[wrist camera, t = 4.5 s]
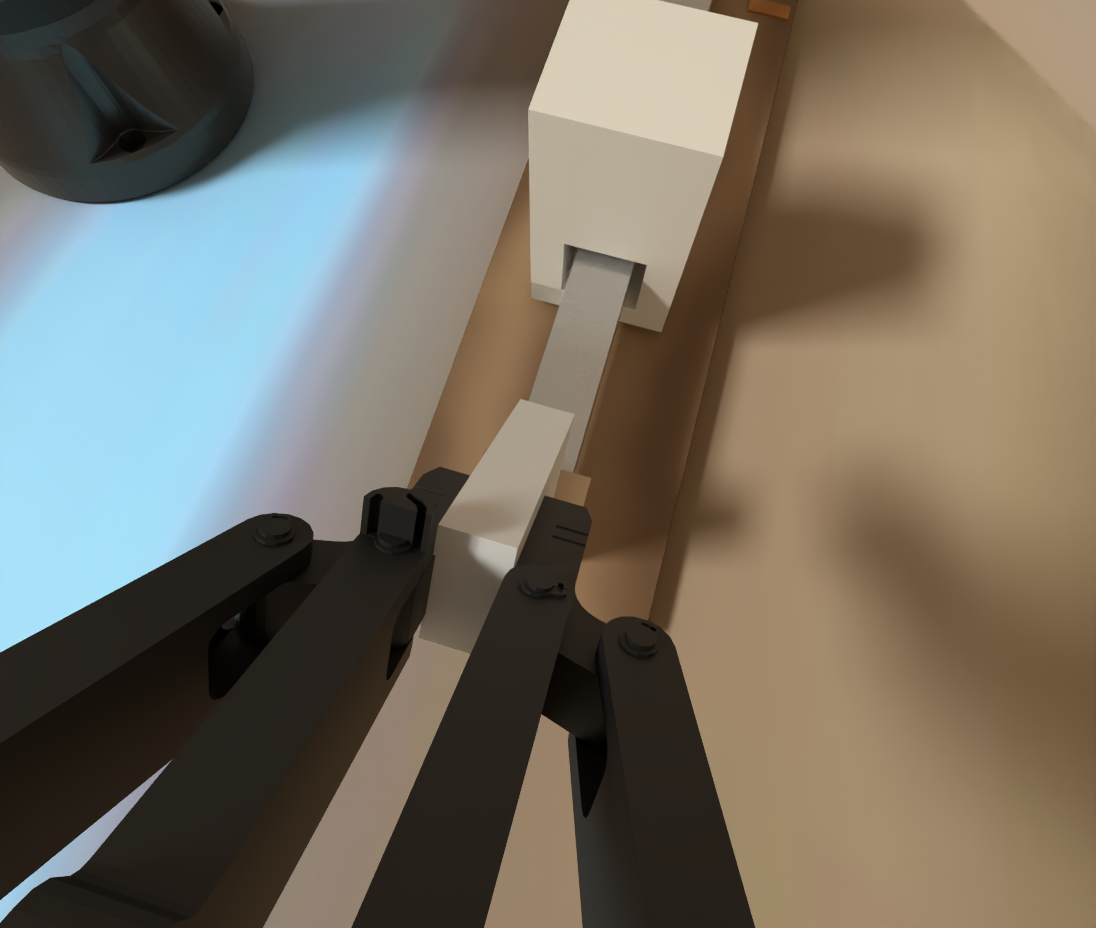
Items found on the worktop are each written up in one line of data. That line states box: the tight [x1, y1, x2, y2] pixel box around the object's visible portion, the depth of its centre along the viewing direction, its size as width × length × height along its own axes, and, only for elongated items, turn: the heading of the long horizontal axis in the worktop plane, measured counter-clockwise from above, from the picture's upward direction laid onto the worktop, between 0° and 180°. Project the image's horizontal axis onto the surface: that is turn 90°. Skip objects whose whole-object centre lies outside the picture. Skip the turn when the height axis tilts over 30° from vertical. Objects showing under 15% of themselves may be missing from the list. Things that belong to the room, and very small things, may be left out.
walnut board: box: [407, 0, 797, 624], centre depth 34 cm, size 12×46×8 cm, turn 164°
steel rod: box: [529, 0, 713, 473], centre depth 34 cm, size 3×42×3 cm, turn 164°
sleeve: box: [528, 0, 758, 332], centre depth 29 cm, size 7×6×12 cm
